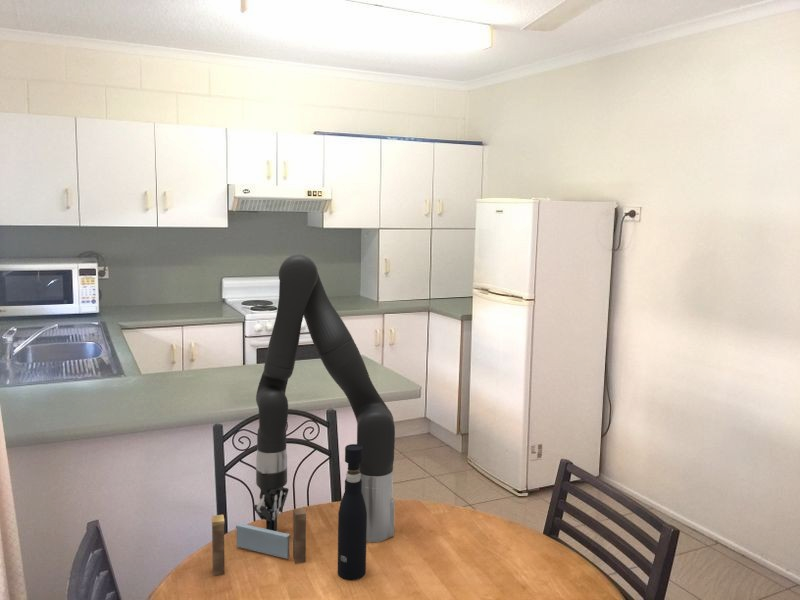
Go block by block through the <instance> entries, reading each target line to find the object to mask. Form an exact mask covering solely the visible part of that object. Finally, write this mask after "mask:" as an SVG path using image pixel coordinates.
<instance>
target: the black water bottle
mask: <svg viewBox="0 0 800 600" xmlns="http://www.w3.org/2000/svg"><path fill="white" fill-rule="evenodd" d="M362 455H363V447H362V446H361V445H358V444H357V443H353V444H352V443H350V444H347V445H346V446H345V447H344V462H345V463H346V464H347V471H346V473H345V476H346V477H345V480H344V493H343V495H342V498H341V501H340V505H339V508H338V517H337V519H338V522H337V576H338V577H339V578H341V579H342V580H345V581H357V580H360V579H362V578H363V577H365V575H366V572H367V541H366V536H367V510H366V505H365V501H364V498H363V495H362V480H361V473H360V471H359V463H361V462H362Z"/></svg>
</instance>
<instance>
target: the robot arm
mask: <svg viewBox="0 0 800 600" xmlns="http://www.w3.org/2000/svg"><path fill="white" fill-rule="evenodd" d="M278 279H279V284H278V285H279V289H278V290H279V291H278V292H279V293H278V304H277V311H276V316H275V320H274V323H273V327H272V331H271V334H270V338H269V342H268V345H267V350H266V356H265V359H264V360H265V361H264V367H263V372H262V374H261V377H260V379H259V384H258V386H257V390H256V396H255V402H256V405H257V408H258V423H259V425H258V429H257V433H256V434H257V435H256V440H257V441H256V444H257V445H256V455H255V456H256V457H255V470H256V471H255V476H256V478H255V481H256V482H255V484H256V486H257V487H258V488H259V489H260V493H259V502H258V504H254V505H253V510H254V511H255V513H256V514H257V517H259V518H260V520H264V521H265V523H266V524H265V526H266V527H265V529H268V530H273V531H277V532H278V518H279V515H280V512H281V513H282V511H283V510H284V506H285V503H286V500H287V497H288V493H289V488H288V487H285V486H286V485H287V483H288V453H287V426H288V418H289V417H288V415H289V400H288V398H287V396H286V390H287V385H288V381H289V379H290V378H291V377H292V375H293V371H294V369H295V363H296V361H297V360H296V359H297V354H298V349H299V345H300V343H299V342H300V337H301V329H302V323H303V318H304V320H305V323H306V326H307V329H308V333H309V336H310V338H311V341H312V344H313V345H314V348H315V350H316V352H317V354H318V356H319V358H320V360H321V362H322V365H323V366H324V367H325V368H324V369H326V371H327V372H328V374H329V375H330V377H331V378H332V380H333V381H334V382H335V383H336V384H337V386H338V387H339V388H340V389H341V390H342V392H343V393H344V395H345V396H346V398H347V401H348V403H349V404H350V407H351V410H352V412H353V413H354V417H355V420H356V444H358V445H361V446H362V447H363V455H362V462H361V463H359V471H360V473H361V480H362V495H363V498H364V501H365V505H366V510H367V536H366V543H369V542H370V543H378V542H383V541H387V540H388V539H389V538H391V537H394V536H395V512H396V509H395V507H396V506H395V505H396V501H395V499H394V498H393V487H394V486H393V483H394V481H393V480H394V461H395V446H396V445H395V441H396V427H395V426H396V425H395V421H394V416H393V414H392V412H391V410H390V409H389V408H388V405H386V403H385V402H384V400H383V398H382V397H381V395H380V394H379V392H378V391H377V389H376V387H375V386H374V384H373V382H372V380H371V378H370V375H369V372H368V369H367V367H366V364H365V361H364V359H363V357H362V355H361V352H360V350H359V348H358V347H357V344H356V343H355V340H354V339H353V336H352V335H351V332H350V331H349V329H348V327H347V326H346V324H345V323H344V321H343V319H342V317H341V316H340V315H339V313H338V312H337V310H336V309H335V307H334V306H333V304H332V302H331V301H330V299H329V297H328V294H327V293H326V290H325V288H324V286H323V283H322V280H321V277H320V275H319V271H318V267H317V265H316V264H315V262H314V261H313V260H312V259H311V258H310V257H309V256H306V255H304V254H294V255H293V254H292V255H291V256H289V257H287V258H285V260H283V262H282V263H281V265H280V267H279V270H278Z"/></svg>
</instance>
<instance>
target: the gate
mask: <svg viewBox="0 0 800 600" xmlns="http://www.w3.org/2000/svg"><path fill="white" fill-rule="evenodd" d="M235 529H236V547H237V548H242V549H244V550H249V551H252V552H258V553H263V554H267V555H271V556H275V557H278V558H283V559H287V560H288V559H289V558H290V538H291V534H289V533H286V532H281V531H278V530H277V531H273V530H268V529H266V528H263V527H259V526H254V525H250V524H245V523H241V522H239V523H237V524H236V525H235Z"/></svg>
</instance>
